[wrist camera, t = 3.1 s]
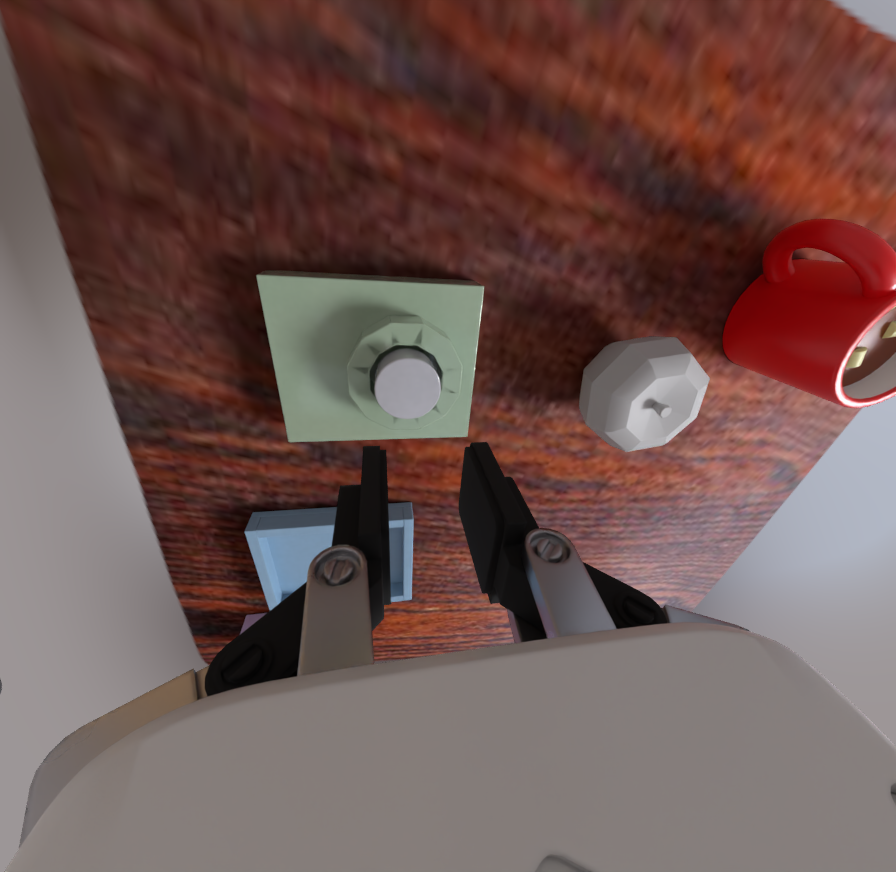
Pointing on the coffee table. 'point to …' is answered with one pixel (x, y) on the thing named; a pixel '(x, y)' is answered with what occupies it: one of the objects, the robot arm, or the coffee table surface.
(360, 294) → the green push button box
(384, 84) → the coffee table surface
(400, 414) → the grey push button
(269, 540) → the soap dish
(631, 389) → the apple
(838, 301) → the mug
